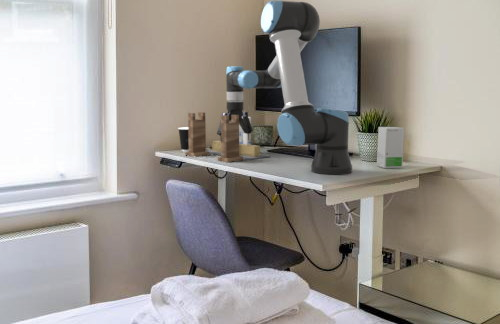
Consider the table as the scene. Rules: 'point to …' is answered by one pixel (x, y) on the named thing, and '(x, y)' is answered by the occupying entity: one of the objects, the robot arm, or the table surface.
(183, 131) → the dixie cup
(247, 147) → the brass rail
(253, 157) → the charcoal rubber mat
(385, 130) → the skincare box
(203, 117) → the walnut rail stand
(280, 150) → the table surface
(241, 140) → the supplement tub
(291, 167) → the table surface
